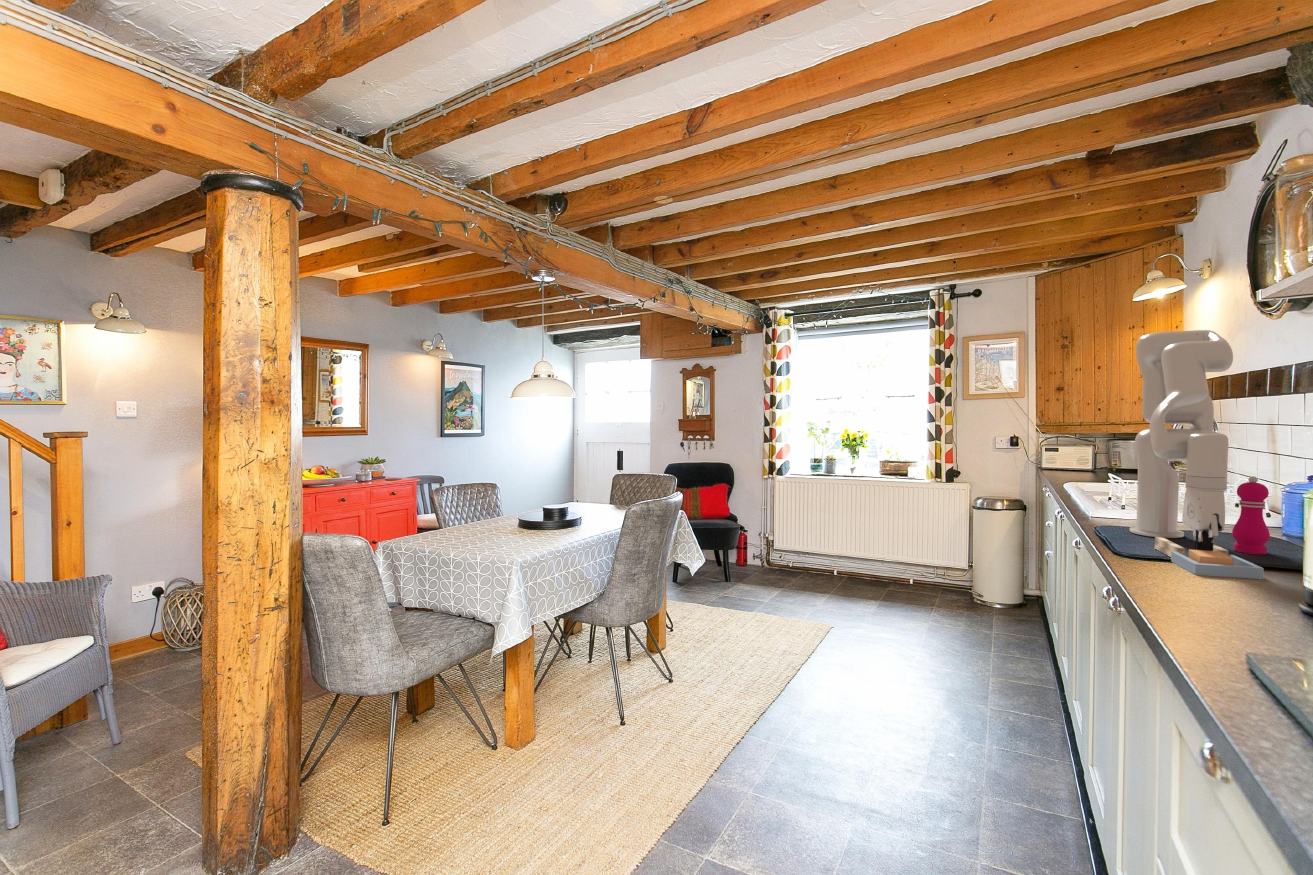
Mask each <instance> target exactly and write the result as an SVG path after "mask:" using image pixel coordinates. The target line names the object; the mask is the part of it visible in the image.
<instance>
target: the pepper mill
mask: <svg viewBox="0 0 1313 875" xmlns="http://www.w3.org/2000/svg"><path fill="white" fill-rule="evenodd" d="M1269 494H1270V493H1269V488H1268V487H1267V486H1265V485H1264V484H1262V483H1260V482H1259V479H1258V477H1257V476H1253V475H1252V476H1250V477H1249V478H1248V481H1247V482H1242V483H1241V484H1239V486H1237V489H1236V495H1237V496H1238V497H1239V498H1240V499H1239V500H1238V502H1239V503H1238V505H1239V507H1240V515H1239V517H1238V518H1237V521H1236V523H1235V525H1233V528H1232V530H1231V531H1232V532H1231V537H1233V539H1234V540H1235V541H1236V542H1234V543H1233V550H1234V551H1235V552H1239V553H1242V552H1243V553H1242V554H1248V553H1250V554H1249V555H1266V554H1267V553H1268V552H1267V551H1268V549H1267V548H1268V547H1267V546H1266V545H1265V544H1267V543H1268V542H1269V541H1270V540H1271V533H1270V531H1269V528H1268V526H1267V524H1266V522H1265V519H1264V515H1263V514H1264V512H1263V511H1264V508H1265V507H1266V503H1267V502H1266V501H1265V500H1266V499H1267V498H1269Z"/></svg>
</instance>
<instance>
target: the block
mask: <svg viewBox="0 0 1313 875" xmlns="http://www.w3.org/2000/svg"><path fill="white" fill-rule="evenodd" d="M1187 557H1188V558H1190V559H1192V560H1194V561H1196V562H1198V563H1203V564H1219V565H1233V558H1231V557H1229V556H1227V555H1226V554H1224V553H1222V552H1219V551H1205V550H1194V549H1188V556H1187Z"/></svg>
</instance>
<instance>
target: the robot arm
mask: <svg viewBox="0 0 1313 875" xmlns="http://www.w3.org/2000/svg"><path fill="white" fill-rule="evenodd" d="M1135 344H1136V346H1135V356H1136V362H1137V364H1138V367H1139V369H1140V371H1141V377H1142V394H1141V396H1142V400H1141V401H1142V402H1141V405H1142V406H1141V409H1142V410H1141V412H1142V417H1143V420H1145V422H1147V423H1149V428H1146V429H1144V430H1141V431H1140V432H1138V433H1137V434H1136V436H1135V438H1134V447H1135V453H1136V461H1137V492H1136V493H1137V494H1136V495H1137V496H1136V520H1135V522H1136V523H1135V524H1136V525H1133V526H1130V527H1129V531H1130V533H1133V534H1136V535H1139V536H1145V537H1151V538H1155V537H1163V538H1165V539H1179V538H1183V537H1185V536H1184V535H1185V532H1184V531H1182V530H1179V529H1178V520H1179V519H1178V517H1179V516H1178V515H1179V514H1178V513H1179V490H1180V489H1179V488H1180V476H1179V474H1178V472H1177V471H1176V469H1174V468H1173V466H1172V465H1170V463H1169V462H1186V463H1185V467H1186V468H1185V485H1184V486H1185V487H1184V488H1185V494H1184V497H1183V498H1184V499H1183V507H1182V508H1183V509H1182V524H1183V525H1185V526H1186V527H1189V528H1190V529H1191V530H1192V536H1193V550H1205V551H1213V544H1214V543H1215V539H1217V538H1219V533H1221V532H1223V531H1224V529H1225V525H1226V524H1225V523H1226V502H1225V499H1226V498H1225V492H1227V490H1228V486H1227V485H1228V464H1229V463H1228V461H1229V437H1228V436H1227V435H1226V434H1224V433H1219V432H1218V431H1215V430H1214V420H1215V418H1214V415H1215V414H1214V412H1215V410H1214V402H1213V399H1212V398H1211V395H1210V390H1209V385H1208V381H1207V374H1206V373H1221V372H1222V373H1223V372H1226V371H1228V370H1229V369H1230V368H1231V367H1232V365H1233V362H1234V354H1233V349H1232V347H1231V345H1230V343H1229V342H1228V341H1227V340H1226V339H1225V338H1223V336H1221V335H1220V334H1218V333H1217V332H1216V331H1213V330H1210V329H1209V330H1207V329H1202V330H1201V329H1198V330H1197V329H1196V330H1195V329H1194V330H1175V331H1158V332H1150V333H1147V334H1144V335H1142V336H1140V337H1139V339H1138V340H1137V342H1136V343H1135ZM1167 424H1168V425H1188V426H1189V428H1169V427H1168V428H1167V426H1166V425H1167Z"/></svg>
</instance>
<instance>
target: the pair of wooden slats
mask: <svg viewBox="0 0 1313 875" xmlns="http://www.w3.org/2000/svg"><path fill="white" fill-rule="evenodd" d="M1155 549H1157V550H1159V551H1161V552H1163V553H1164V554H1167V555H1168V556H1170V557H1171V554H1172V552H1178V553H1180V554H1182V555H1184V556H1186V548H1185V547H1183V546H1181V545H1179V544H1177V543H1175V542H1173V541H1171V540H1169V539H1168V538H1163V537H1154V550H1155ZM1213 551H1219V552H1222V553H1224V554H1226V555H1227V556H1228V555H1229V552H1230V550H1228V549H1226V548H1224V547H1221V546H1219V545H1216V544H1214V543H1213Z"/></svg>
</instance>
